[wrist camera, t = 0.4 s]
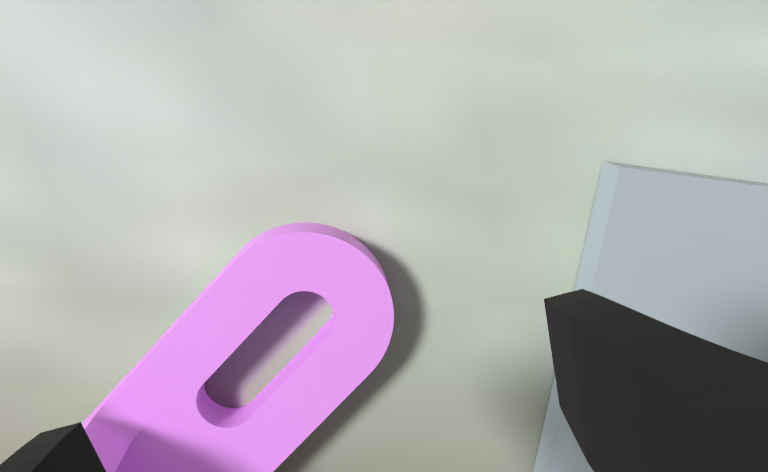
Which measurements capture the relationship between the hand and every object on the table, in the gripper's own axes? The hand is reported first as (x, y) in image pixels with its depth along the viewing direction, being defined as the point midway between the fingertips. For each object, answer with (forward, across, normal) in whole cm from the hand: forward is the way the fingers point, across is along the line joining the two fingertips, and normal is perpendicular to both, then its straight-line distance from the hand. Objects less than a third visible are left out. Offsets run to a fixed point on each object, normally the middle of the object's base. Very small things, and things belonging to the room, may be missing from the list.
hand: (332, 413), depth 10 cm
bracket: (+11, +4, +5) cm, 13 cm away
